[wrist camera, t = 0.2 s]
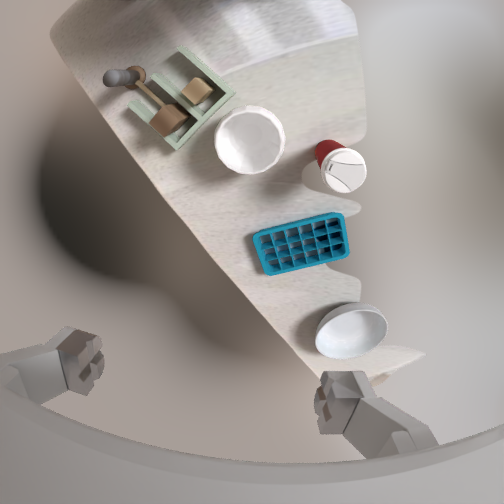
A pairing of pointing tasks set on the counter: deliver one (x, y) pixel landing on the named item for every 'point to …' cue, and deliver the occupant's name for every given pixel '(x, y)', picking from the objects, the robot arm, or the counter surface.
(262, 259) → the ice cube tray
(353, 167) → the paper cup
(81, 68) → the counter surface
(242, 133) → the white deep bowl
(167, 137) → the lane rack
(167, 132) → the tethered walnut block
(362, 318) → the serving bowl
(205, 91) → the oak block
